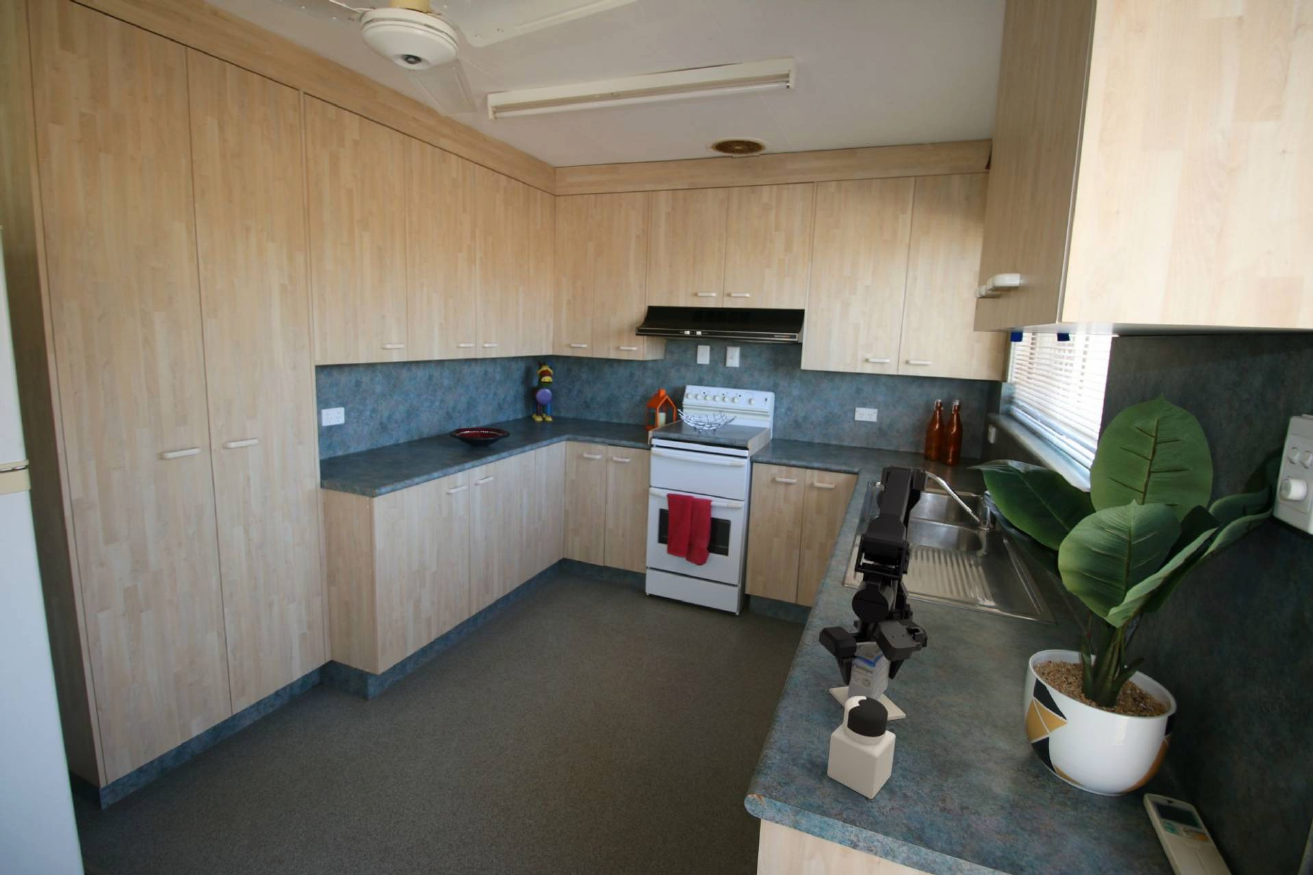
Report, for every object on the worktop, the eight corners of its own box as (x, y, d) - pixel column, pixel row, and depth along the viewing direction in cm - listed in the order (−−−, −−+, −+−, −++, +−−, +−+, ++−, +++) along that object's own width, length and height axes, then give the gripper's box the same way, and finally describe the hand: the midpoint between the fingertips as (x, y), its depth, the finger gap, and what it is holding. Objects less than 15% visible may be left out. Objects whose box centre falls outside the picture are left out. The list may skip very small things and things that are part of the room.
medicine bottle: (891, 776, 96) (900, 704, 94) (871, 801, 90) (880, 725, 88) (847, 753, 100) (854, 684, 98) (826, 776, 95) (833, 704, 93)
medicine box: (863, 680, 118) (868, 637, 116) (887, 689, 115) (892, 645, 114) (846, 698, 112) (851, 653, 110) (871, 709, 109) (876, 663, 108)
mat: (871, 686, 120) (871, 683, 120) (905, 717, 110) (905, 714, 110) (829, 691, 117) (829, 688, 117) (860, 724, 108) (860, 721, 108)
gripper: (857, 626, 100) (848, 715, 103) (955, 616, 105) (943, 700, 108) (821, 596, 111) (813, 677, 113) (911, 588, 116) (902, 666, 119)
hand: (868, 681), depth 113 cm, fingers closed on medicine box, 9 cm apart
